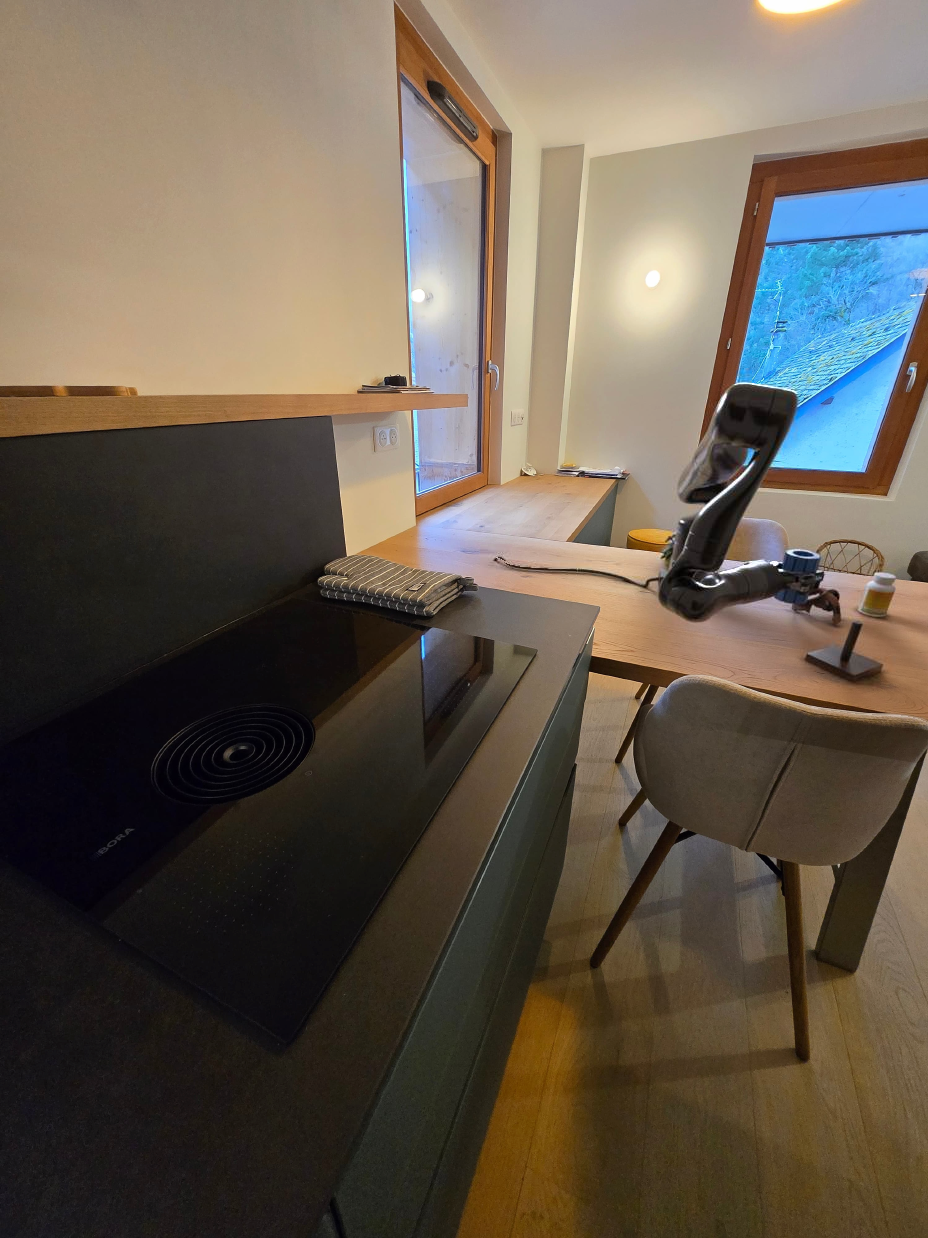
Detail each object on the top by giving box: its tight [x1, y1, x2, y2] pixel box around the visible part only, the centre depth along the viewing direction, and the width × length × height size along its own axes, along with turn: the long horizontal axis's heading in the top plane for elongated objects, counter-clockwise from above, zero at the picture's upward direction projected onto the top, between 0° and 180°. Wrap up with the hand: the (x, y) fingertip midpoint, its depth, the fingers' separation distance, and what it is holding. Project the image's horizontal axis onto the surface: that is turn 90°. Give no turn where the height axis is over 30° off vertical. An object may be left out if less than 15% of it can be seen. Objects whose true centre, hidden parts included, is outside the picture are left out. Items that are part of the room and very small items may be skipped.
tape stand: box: [804, 620, 884, 682], centre depth 95 cm, size 9×9×10 cm
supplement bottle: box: [857, 572, 897, 618], centre depth 117 cm, size 5×5×10 cm
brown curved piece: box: [791, 587, 842, 627], centre depth 117 cm, size 12×10×8 cm
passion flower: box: [659, 533, 676, 570], centre depth 151 cm, size 11×11×12 cm
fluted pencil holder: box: [773, 548, 822, 605], centre depth 103 cm, size 6×6×10 cm
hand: (805, 570), depth 103 cm, fingers closed on fluted pencil holder, 6 cm apart
